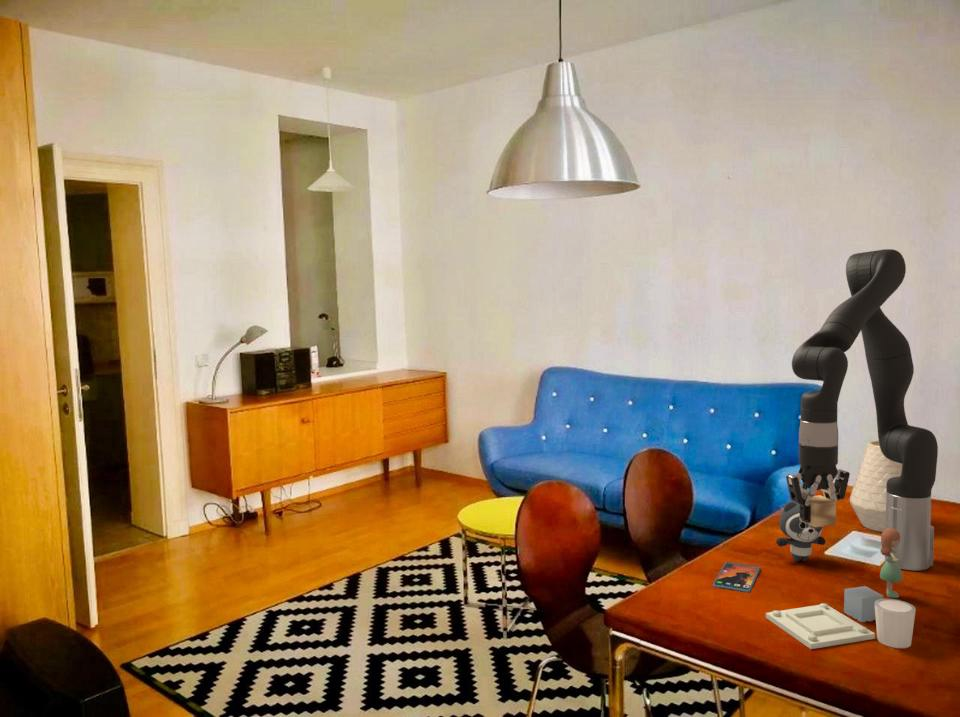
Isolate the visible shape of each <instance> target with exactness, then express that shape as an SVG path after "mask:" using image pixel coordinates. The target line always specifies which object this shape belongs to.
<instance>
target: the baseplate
mask: <svg viewBox="0 0 960 717" xmlns="http://www.w3.org/2000/svg"><path fill="white" fill-rule="evenodd" d="M765 618H766V619H767V620H768V621H770V622H771V623H773V624H774V625H775V626H777V627H778V628H780V629H781V630H783V631H784V632H785V633H787V634H789V635H790V636H791V637H793V638H794V639H796V640H797V641H798V642H800V643H801V644H802V645H804V646H806V647H807V648H808V649H809V650H814V649H815V650H816V649H820V648H827V647H832V646H833V647H834V646H838V645H844V644H851V643H857V642H863V641H869V640H875V639H876V634H875V632H873V631H871V630H870V629H868V628H867V627H866V626H863V625H861V624H860V623H858V622H856V621H855V620H853V619H851V618H850V617H848V616H846V615H845V614H843V613H841V612H840V611H838V610H836V609H834V608H833V607H832V606H829V604H828V603H823V602H822V603H820V604H816V605H809V606H803V607H797V608H790V609H784V610H775V609H774V610H772V611H770V612H765Z"/></svg>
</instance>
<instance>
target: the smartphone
mask: <svg viewBox="0 0 960 717" xmlns="http://www.w3.org/2000/svg"><path fill="white" fill-rule="evenodd" d="M760 571H761V567H760V565H759V566H758V565H752V564H745V563H738V562H737V563H736V562H731V561H725V563H724V564H723V566H722V568H721V570H720V571H719V573H718V574H717V576H716V578H715V580H714V582H713V584H712V587H713V588H717V589H724V590H733V591H736V592H741V593H748V594H749V593H751V591H752V589H753V586H754V584H755V582H756V580H757V578H758V576H759V573H760Z"/></svg>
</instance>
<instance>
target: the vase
mask: <svg viewBox="0 0 960 717" xmlns="http://www.w3.org/2000/svg"><path fill="white" fill-rule="evenodd" d="M863 454H864V455H863V457H862V460H861V463H860V467H859V469H858V472H857V475H856V478H855V480H854V484H853V487H852V489H851V493H850V497H849V503H850V505H851V507H852V509H853V510H854V512H855V514H856V516H857V518H858V519H859V521H860V523H861V525H862V526H863V527H864V528H866V529H868V530H870V531H874V532H878V533H883V531H884V530H885V529H886V485H887V481H888V479H890V478H893V477H899V476H901V472H902V464H901V463H898V462H894V461H891V460H889V459H888V458H886V457H885V456H884V455H883V453H882V451H881V449H880V445H879V439H878V440H871V441H868V442H867V445H866V448H865V452H864V453H863Z"/></svg>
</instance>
